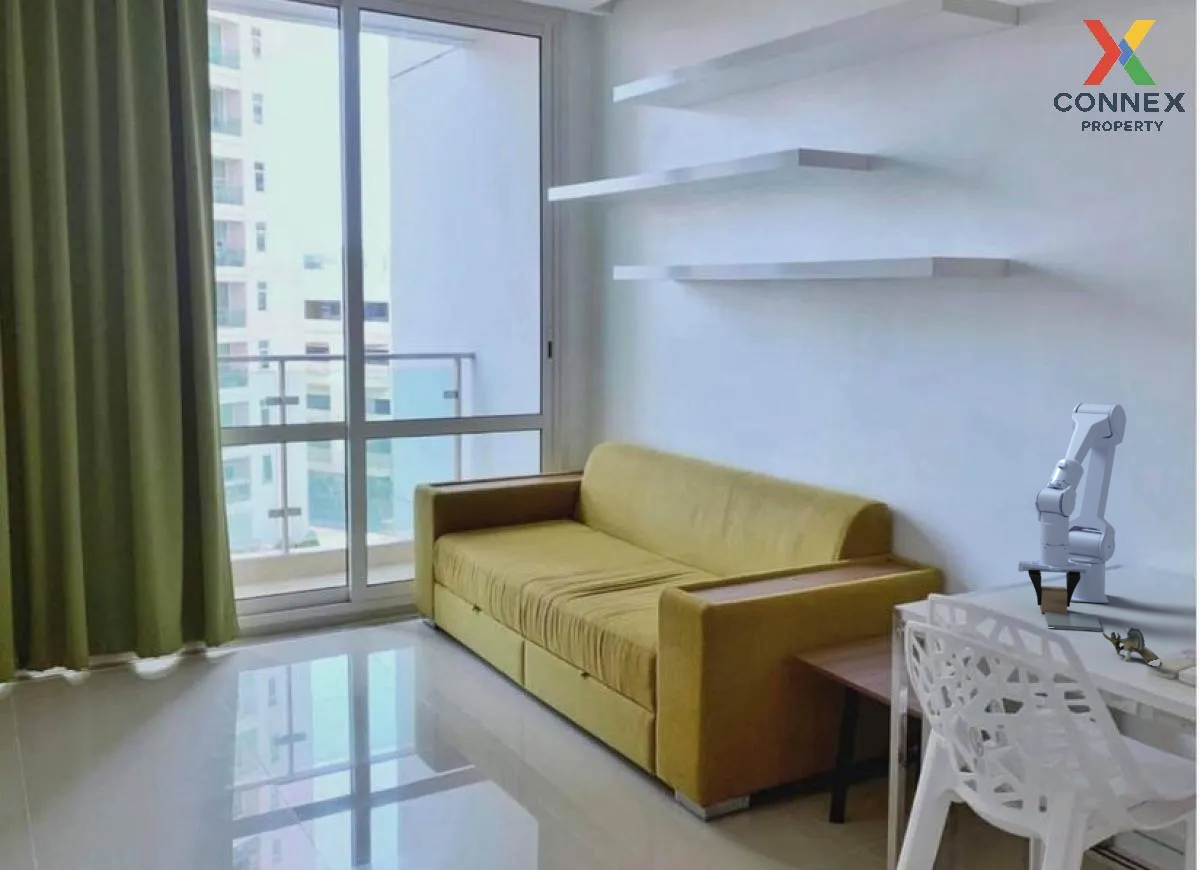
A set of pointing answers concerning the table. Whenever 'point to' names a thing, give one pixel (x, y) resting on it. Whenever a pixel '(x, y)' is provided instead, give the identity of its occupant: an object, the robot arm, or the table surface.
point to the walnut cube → (1053, 599)
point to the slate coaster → (1072, 621)
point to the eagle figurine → (1132, 644)
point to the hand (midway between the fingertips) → (1053, 605)
